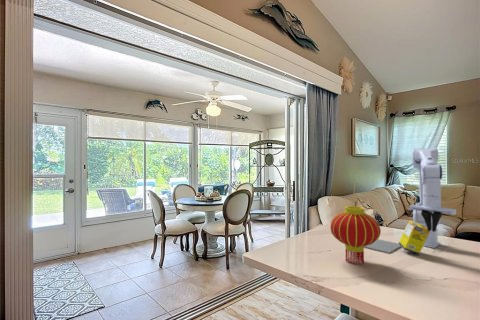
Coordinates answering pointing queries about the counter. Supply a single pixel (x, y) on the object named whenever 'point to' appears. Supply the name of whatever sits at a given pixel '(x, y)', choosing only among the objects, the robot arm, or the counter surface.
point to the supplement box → (414, 237)
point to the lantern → (355, 231)
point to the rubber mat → (383, 246)
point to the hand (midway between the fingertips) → (431, 230)
